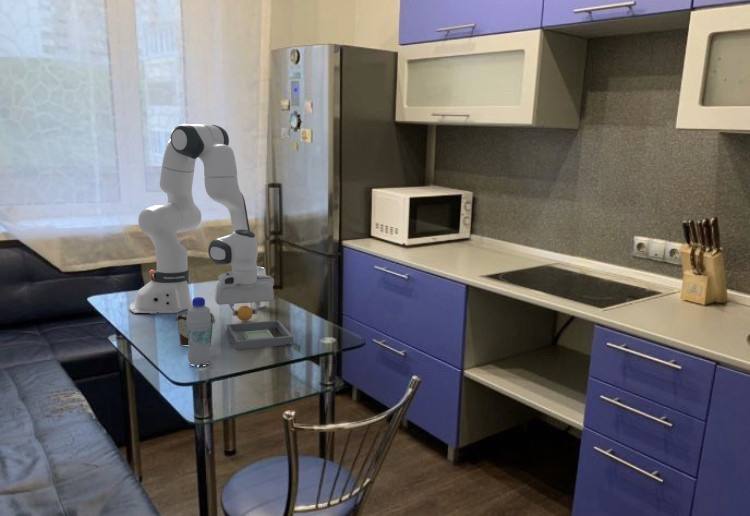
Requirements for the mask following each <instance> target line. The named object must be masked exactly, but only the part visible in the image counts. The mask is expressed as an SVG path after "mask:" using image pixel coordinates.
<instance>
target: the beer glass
mask: <svg viewBox="0 0 750 516" xmlns="http://www.w3.org/2000/svg"><path fill="white" fill-rule="evenodd" d="M257 267H258V276H266V275H267V273H266V268H265V267H262V266H257ZM255 305H256V304H255V302H252V303H248V306H249V307H250V308H251V309H252V308H254V307H255ZM262 308H263V309H264V308H265V302H260V306H259V307H258V309H262Z"/></svg>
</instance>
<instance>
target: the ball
mask: <svg viewBox="0 0 750 516" xmlns="http://www.w3.org/2000/svg"><path fill="white" fill-rule="evenodd" d="M236 310H237V315H236V317H237V318H238V319H239V320H240V321H241V322H247V321H249V320H250V319H252V317H253V315H254V314H253V312H252V308H250V307H249V305H241V306H240V307H239V308H238V309H236Z"/></svg>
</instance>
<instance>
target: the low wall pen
mask: <svg viewBox="0 0 750 516" xmlns="http://www.w3.org/2000/svg"><path fill="white" fill-rule="evenodd" d="M225 327H226V329H225V330H226V333H227V336H228V338H229V339H230V341H231V343H232V344H233V346H234V349H235V350H236V351H237V350H247V349H249V350H250V349H258V348H269V347H276V346H277V347H278V346H287V345H286V344H289V345H292V344H291V343H293V344H294V336H293V335H292V333H291V332H290V331H289V330H288V329H287V328H286V327H285V325H284V324H283V323H282V322H281V321H280V319H277V320H265V321H263V320H262V321H253V322H252V321H251V322H242V323H230V324H229V323H228V324H226V326H225ZM272 329H277V330H278V332H279V333H280V334H281V335H282V336H275V337H274V336H273V338H263V339H252V340H245V339H244V340H243V339H242V340H239V339H238V337H237V335H236V333H238V332H246V331H257V330H272Z"/></svg>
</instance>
